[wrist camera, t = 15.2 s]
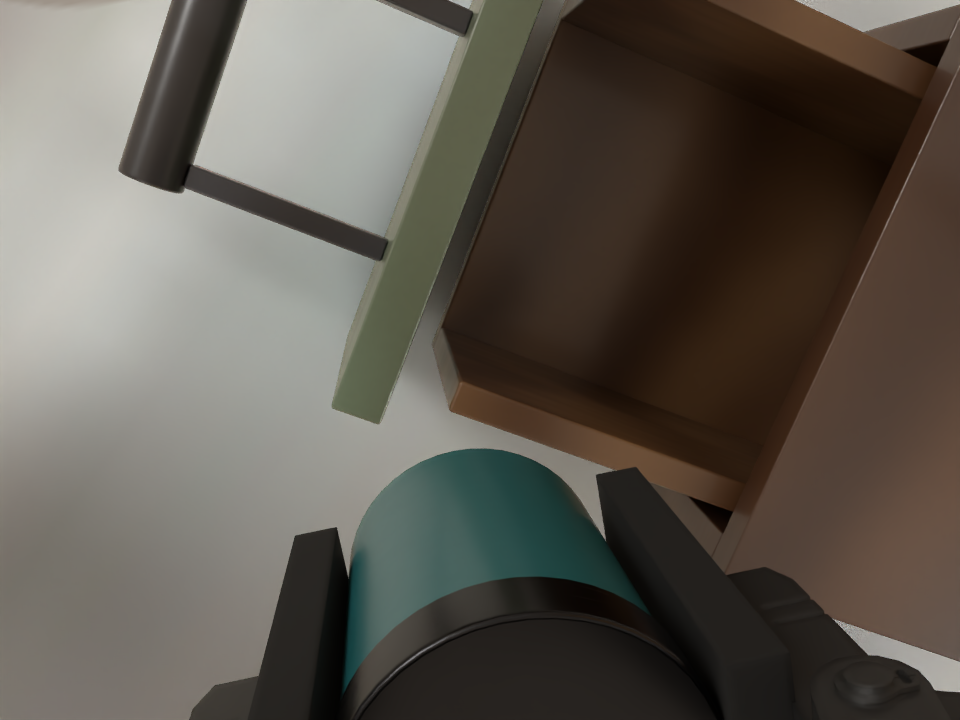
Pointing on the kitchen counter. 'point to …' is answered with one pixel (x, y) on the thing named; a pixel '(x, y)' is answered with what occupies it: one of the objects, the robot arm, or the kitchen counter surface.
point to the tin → (500, 606)
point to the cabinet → (874, 403)
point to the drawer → (599, 216)
